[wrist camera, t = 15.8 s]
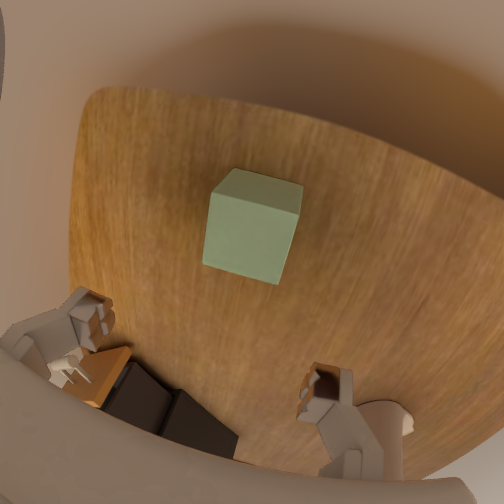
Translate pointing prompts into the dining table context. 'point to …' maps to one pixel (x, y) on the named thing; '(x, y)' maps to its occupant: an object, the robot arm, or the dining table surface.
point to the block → (251, 225)
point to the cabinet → (197, 427)
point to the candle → (389, 433)
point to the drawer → (117, 387)
